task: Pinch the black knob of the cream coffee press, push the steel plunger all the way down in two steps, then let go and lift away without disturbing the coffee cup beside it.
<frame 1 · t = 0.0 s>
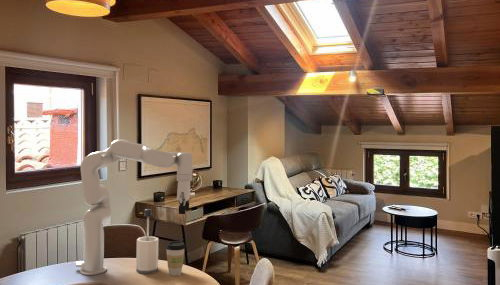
hand: (183, 211, 206), 31 cm above the table, tool pointing down, fingers open, 9 cm apart
plunger: (147, 227, 211), point 22 cm above the table, slide at 0.0 cm
coffee cup: (175, 273, 208), on the table
coffee press: (147, 270, 212), on the table
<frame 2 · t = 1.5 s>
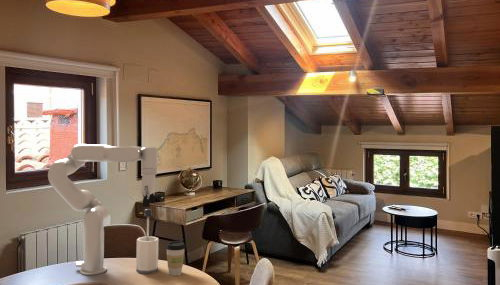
hand: (148, 205, 211), 33 cm above the table, tool pointing down, fingers open, 9 cm apart
nothing on the table moved.
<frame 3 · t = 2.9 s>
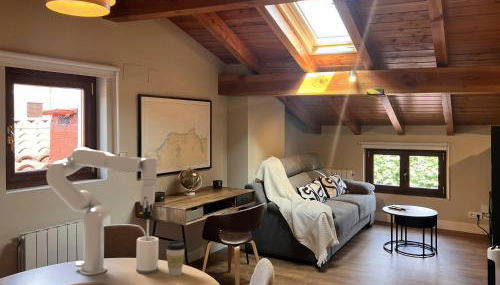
hand: (148, 217, 211), 27 cm above the table, tool pointing down, fingers closed on plunger, 3 cm apart
plunger: (147, 227, 211), point 22 cm above the table, slide at 0.0 cm, touching gripper
everything else where it was.
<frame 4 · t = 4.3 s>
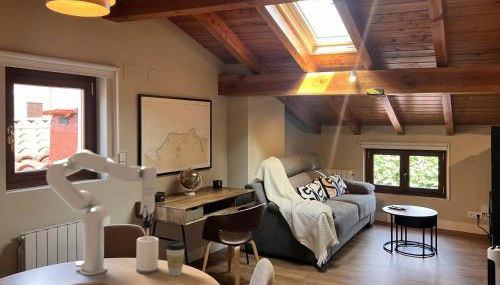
hand: (147, 226, 211), 22 cm above the table, tool pointing down, fingers closed on plunger, 3 cm apart
plunger: (147, 236, 211), point 17 cm above the table, slide at 4.4 cm, touching gripper
everything else where it was.
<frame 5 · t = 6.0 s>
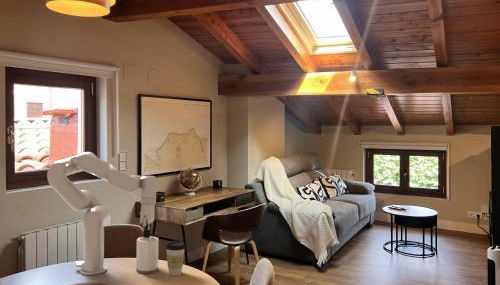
hand: (147, 236, 211), 17 cm above the table, tool pointing down, fingers closed on plunger, 3 cm apart
plunger: (147, 245, 212), point 13 cm above the table, slide at 9.3 cm, touching gripper
everything else where it was.
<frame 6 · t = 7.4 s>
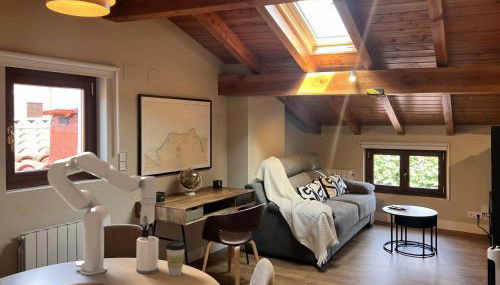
hand: (147, 234, 211), 18 cm above the table, tool pointing down, fingers open, 8 cm apart
plunger: (147, 245, 212), point 13 cm above the table, slide at 9.1 cm
everything else where it was.
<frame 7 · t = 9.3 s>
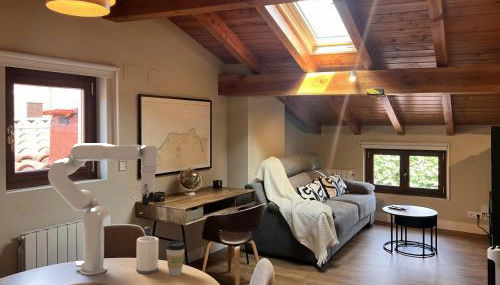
hand: (148, 203, 211), 34 cm above the table, tool pointing down, fingers open, 9 cm apart
nothing on the table moved.
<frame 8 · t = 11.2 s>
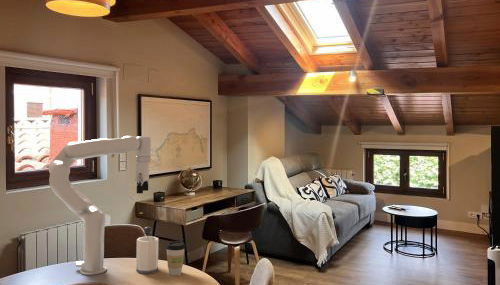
hand: (142, 191, 221), 38 cm above the table, tool pointing down, fingers open, 9 cm apart
nothing on the table moved.
at the end: plunger slide at 9.1 cm; the gripper is holding nothing; coffee cup moved 0.2 cm from its start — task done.
